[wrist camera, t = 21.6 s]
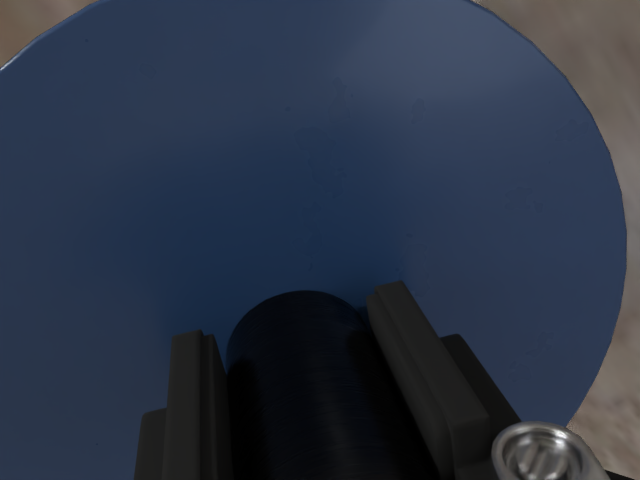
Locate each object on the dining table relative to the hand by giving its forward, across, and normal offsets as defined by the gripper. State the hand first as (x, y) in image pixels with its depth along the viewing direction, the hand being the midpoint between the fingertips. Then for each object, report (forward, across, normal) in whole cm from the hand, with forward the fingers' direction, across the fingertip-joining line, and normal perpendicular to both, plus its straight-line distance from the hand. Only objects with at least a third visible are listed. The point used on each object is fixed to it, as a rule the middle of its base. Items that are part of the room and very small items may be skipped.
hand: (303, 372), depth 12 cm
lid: (+1, 0, 0) cm, 1 cm away
